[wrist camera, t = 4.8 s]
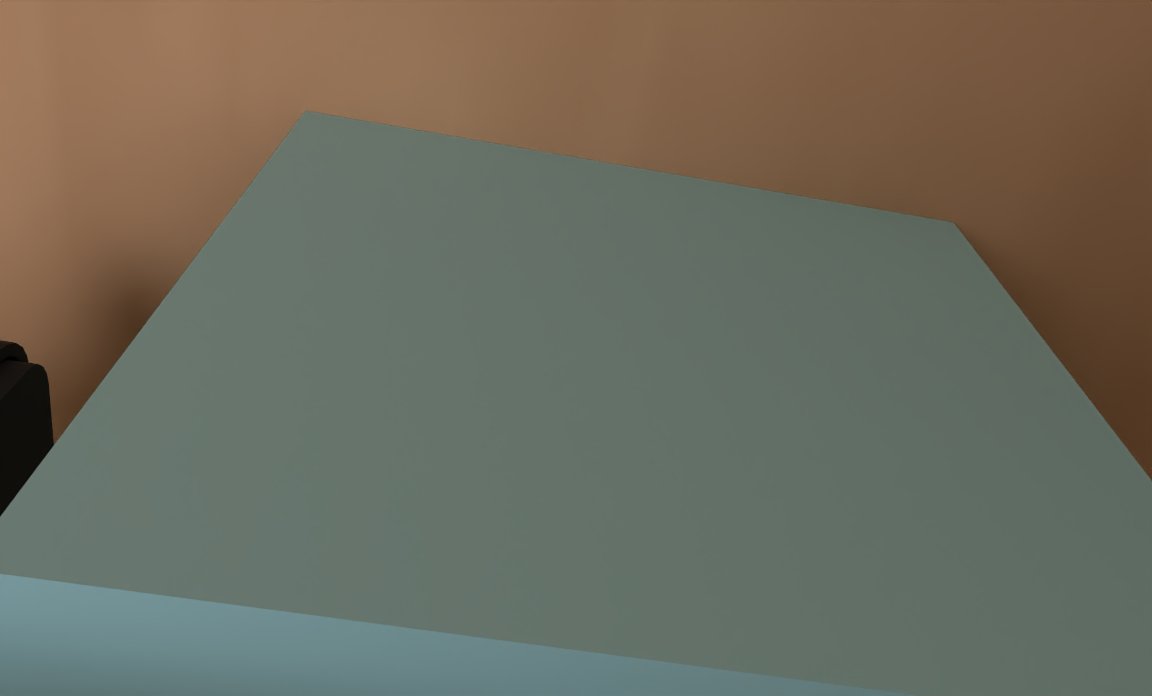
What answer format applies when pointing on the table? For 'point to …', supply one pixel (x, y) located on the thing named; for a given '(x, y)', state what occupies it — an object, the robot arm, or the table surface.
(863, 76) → the table surface
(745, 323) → the cube
